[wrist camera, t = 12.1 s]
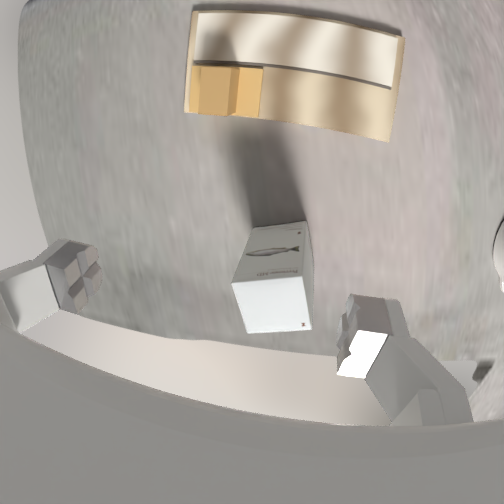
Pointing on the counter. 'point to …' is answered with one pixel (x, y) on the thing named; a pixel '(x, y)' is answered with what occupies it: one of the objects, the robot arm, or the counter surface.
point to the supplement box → (276, 279)
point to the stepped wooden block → (225, 90)
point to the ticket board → (306, 67)
